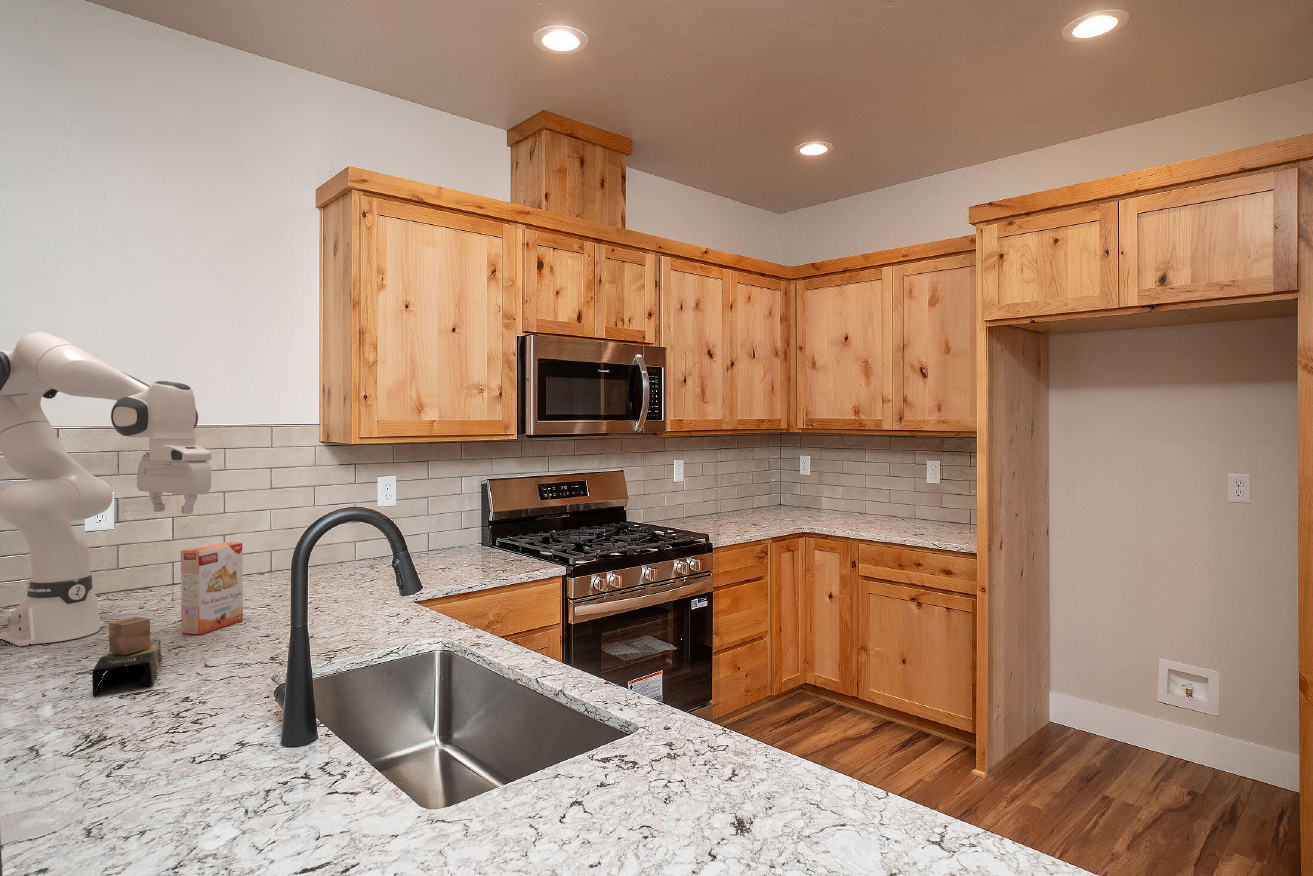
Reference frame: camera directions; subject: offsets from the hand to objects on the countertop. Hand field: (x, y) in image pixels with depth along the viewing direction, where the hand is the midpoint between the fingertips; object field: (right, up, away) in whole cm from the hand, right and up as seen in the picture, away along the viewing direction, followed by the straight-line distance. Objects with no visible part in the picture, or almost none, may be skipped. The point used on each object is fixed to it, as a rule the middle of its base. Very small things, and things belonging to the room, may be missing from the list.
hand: (173, 512), depth 164 cm
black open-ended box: (+4, -32, -19) cm, 38 cm away
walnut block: (+3, -26, -18) cm, 32 cm away
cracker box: (-2, -31, +18) cm, 36 cm away
